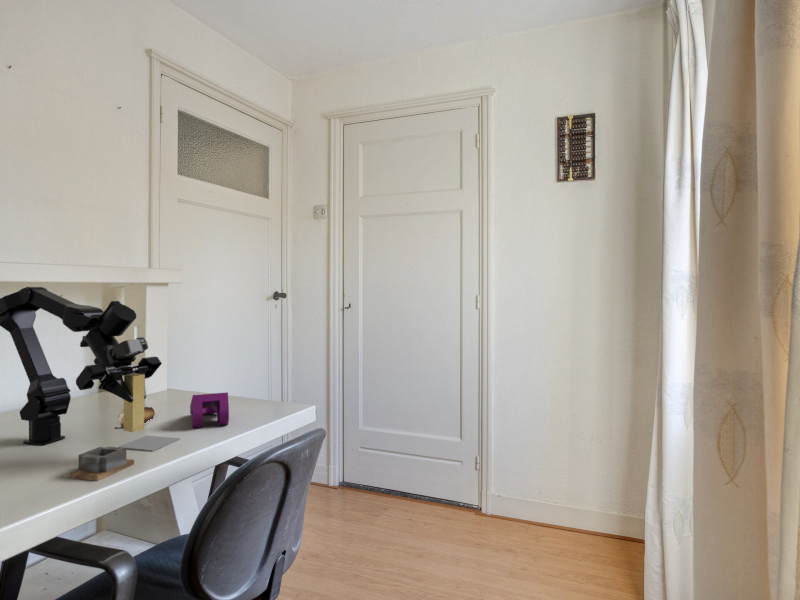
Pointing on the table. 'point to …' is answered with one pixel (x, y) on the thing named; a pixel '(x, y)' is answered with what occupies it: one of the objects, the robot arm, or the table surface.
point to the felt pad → (149, 443)
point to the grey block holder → (101, 463)
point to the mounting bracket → (209, 408)
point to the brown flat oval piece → (147, 415)
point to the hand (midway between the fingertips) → (138, 399)
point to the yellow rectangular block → (134, 403)
